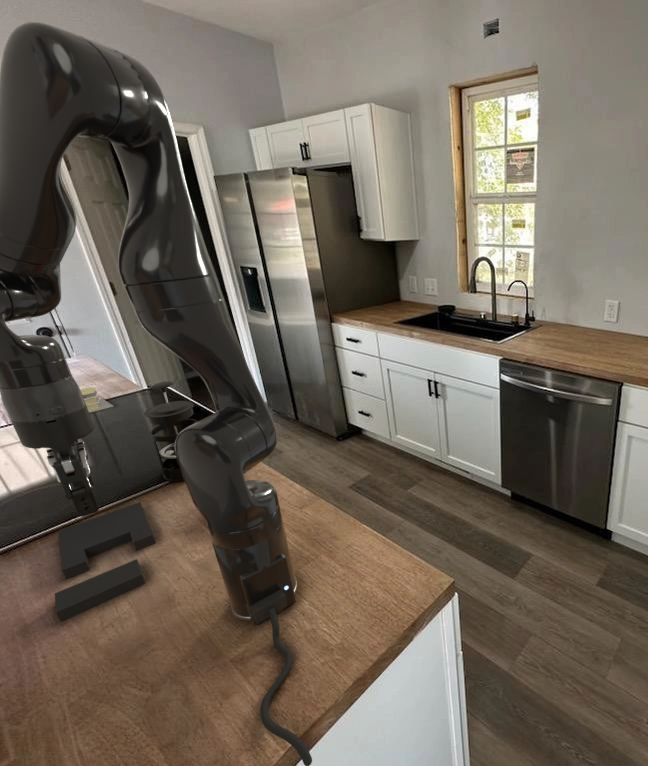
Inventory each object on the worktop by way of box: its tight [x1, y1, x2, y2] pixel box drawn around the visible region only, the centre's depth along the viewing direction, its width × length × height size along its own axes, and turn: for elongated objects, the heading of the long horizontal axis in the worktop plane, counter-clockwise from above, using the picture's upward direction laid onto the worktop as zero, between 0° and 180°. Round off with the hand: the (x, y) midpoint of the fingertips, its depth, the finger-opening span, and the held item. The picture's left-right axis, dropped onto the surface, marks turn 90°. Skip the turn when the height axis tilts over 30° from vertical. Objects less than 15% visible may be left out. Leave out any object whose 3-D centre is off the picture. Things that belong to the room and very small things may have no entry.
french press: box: [143, 381, 199, 483], centre depth 96 cm, size 12×9×23 cm
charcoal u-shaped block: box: [57, 501, 157, 580], centre depth 78 cm, size 14×12×2 cm
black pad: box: [54, 559, 146, 622], centre depth 67 cm, size 10×5×2 cm, turn 137°
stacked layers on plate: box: [80, 386, 115, 414], centre depth 131 cm, size 10×9×6 cm
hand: (87, 500), depth 65 cm, fingers open, 8 cm apart
